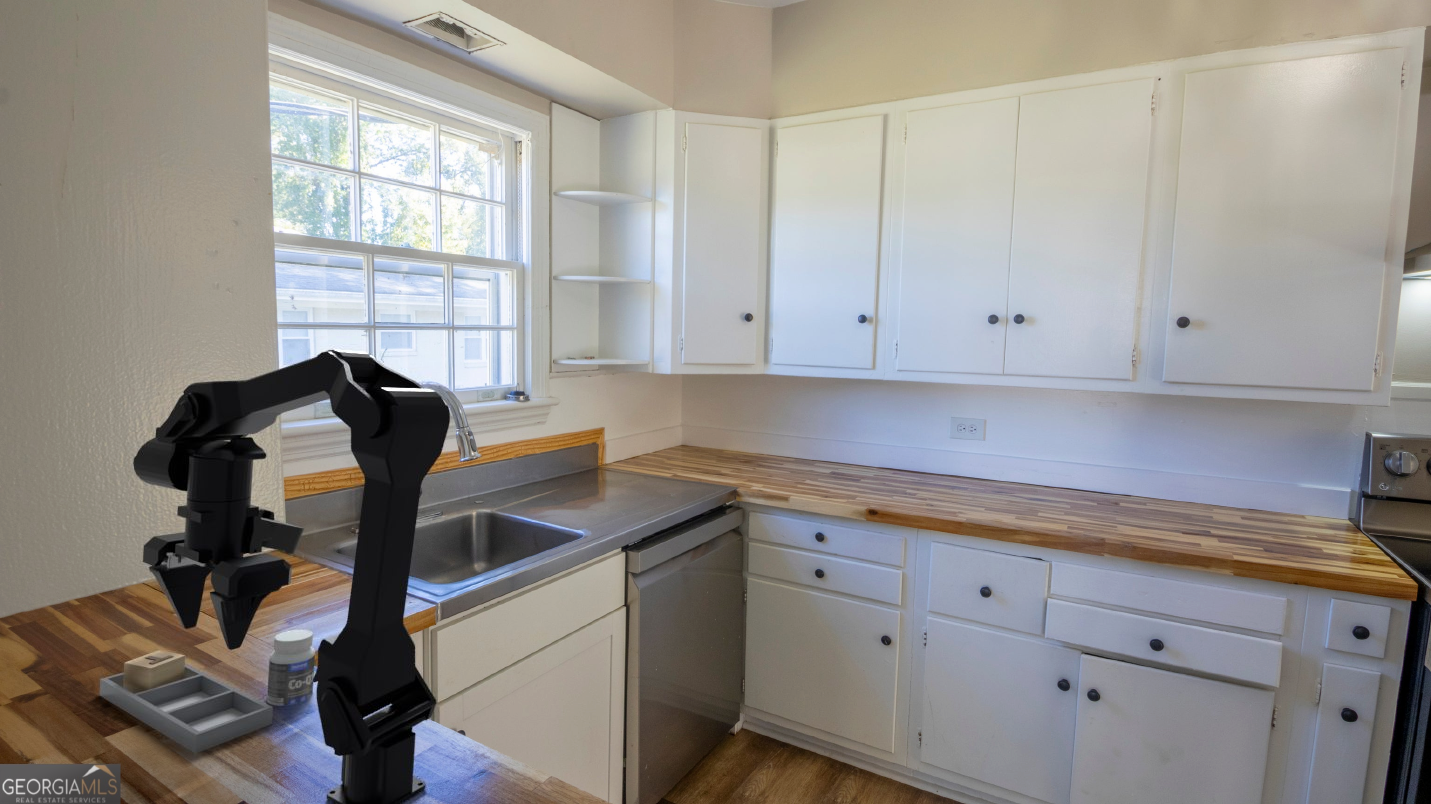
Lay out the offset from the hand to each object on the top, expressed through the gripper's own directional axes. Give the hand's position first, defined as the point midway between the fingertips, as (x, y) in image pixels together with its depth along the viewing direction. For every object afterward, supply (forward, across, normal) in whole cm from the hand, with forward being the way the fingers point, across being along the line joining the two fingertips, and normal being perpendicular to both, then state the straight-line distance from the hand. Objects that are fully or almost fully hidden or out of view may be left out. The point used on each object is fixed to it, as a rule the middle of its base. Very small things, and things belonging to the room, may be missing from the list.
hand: (211, 637), depth 76 cm
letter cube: (+10, +12, 0) cm, 15 cm away
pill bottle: (+11, -1, -9) cm, 14 cm away
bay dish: (+10, +5, 0) cm, 12 cm away
